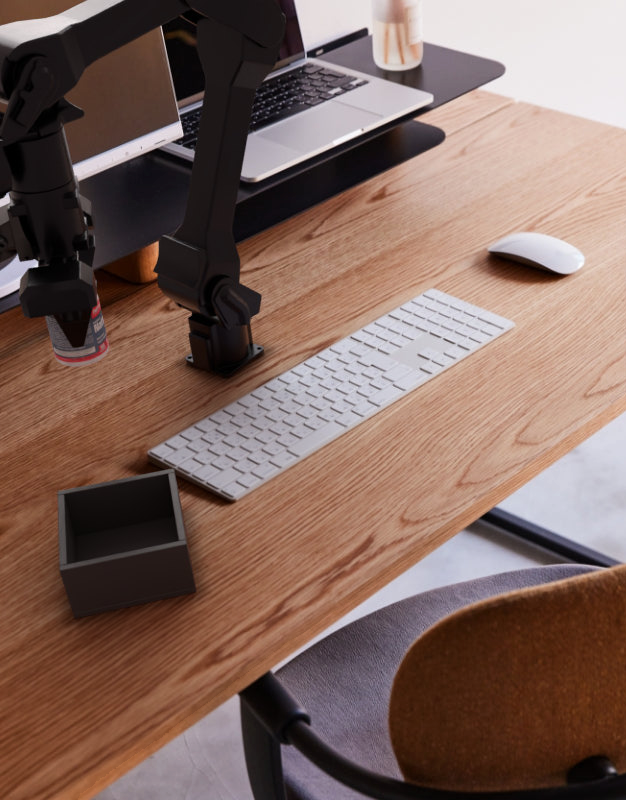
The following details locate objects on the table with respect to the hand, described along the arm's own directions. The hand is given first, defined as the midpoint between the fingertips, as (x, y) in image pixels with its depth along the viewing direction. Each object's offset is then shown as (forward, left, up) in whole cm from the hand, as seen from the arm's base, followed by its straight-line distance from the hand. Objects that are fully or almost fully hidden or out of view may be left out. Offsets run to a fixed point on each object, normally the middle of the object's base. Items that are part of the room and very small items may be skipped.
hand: (78, 331), depth 102 cm
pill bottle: (0, 0, -3) cm, 3 cm away
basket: (+12, +17, -12) cm, 24 cm away
